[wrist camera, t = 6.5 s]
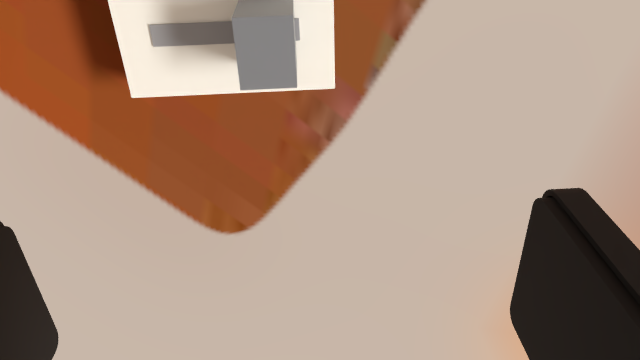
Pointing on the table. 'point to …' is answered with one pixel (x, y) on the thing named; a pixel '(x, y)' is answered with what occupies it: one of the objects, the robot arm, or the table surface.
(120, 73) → the table surface
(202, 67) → the switch box
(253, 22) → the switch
